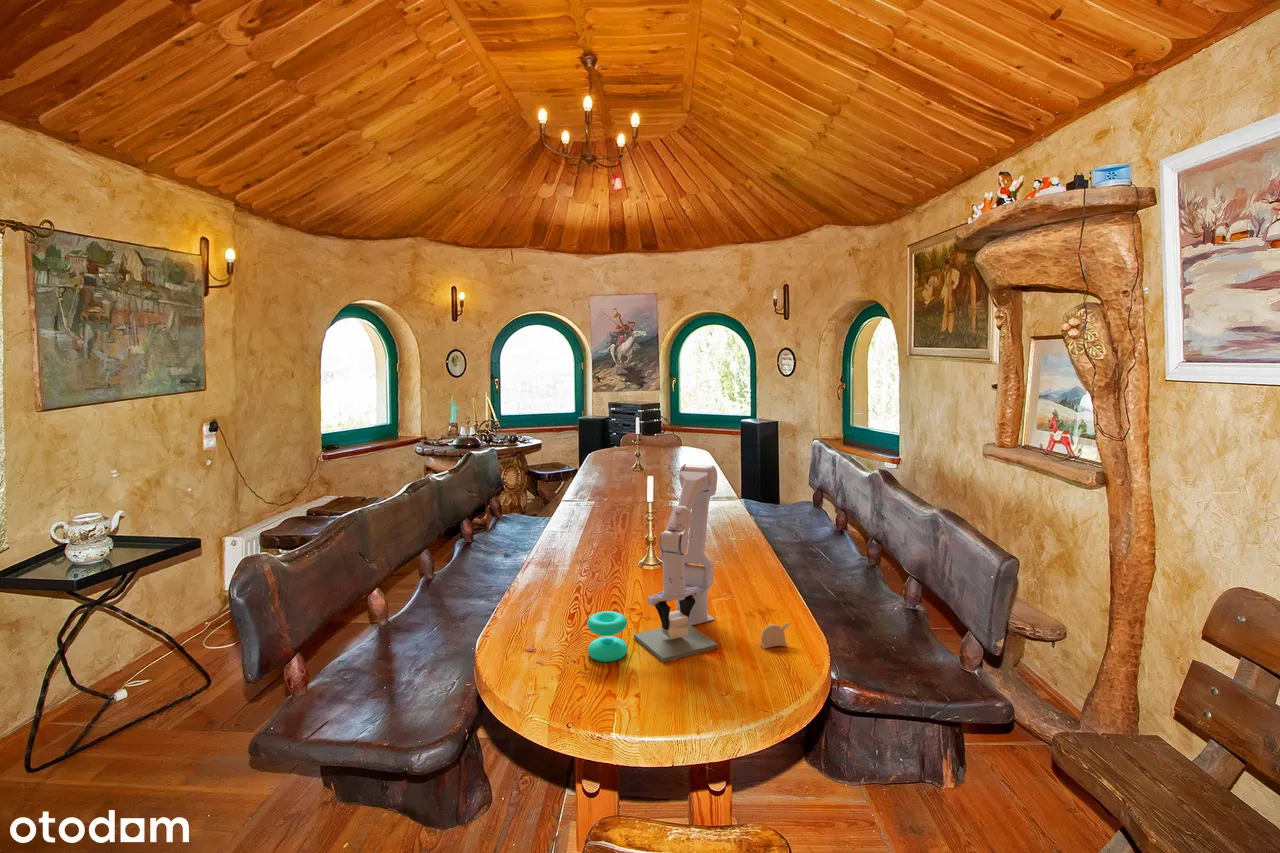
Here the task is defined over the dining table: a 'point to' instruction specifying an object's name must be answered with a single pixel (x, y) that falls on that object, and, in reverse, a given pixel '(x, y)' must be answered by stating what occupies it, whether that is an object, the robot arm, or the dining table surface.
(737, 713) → the dining table surface
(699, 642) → the board
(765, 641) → the decorative ornament
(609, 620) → the donuts
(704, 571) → the robot arm
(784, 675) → the dining table surface
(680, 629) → the cream cube
